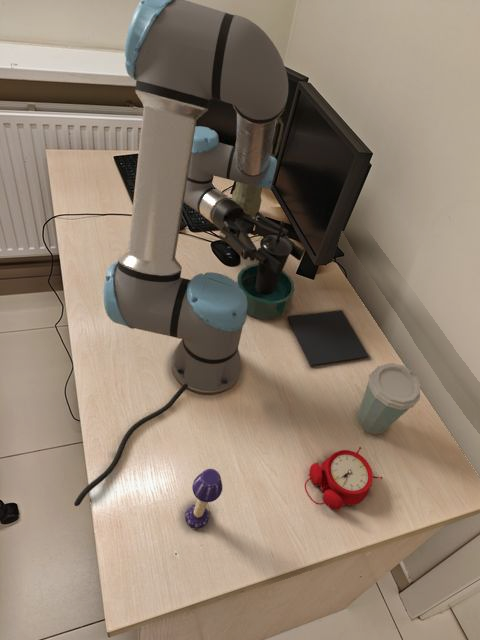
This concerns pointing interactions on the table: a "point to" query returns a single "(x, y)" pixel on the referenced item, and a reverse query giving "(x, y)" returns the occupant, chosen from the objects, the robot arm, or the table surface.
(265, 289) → the drinking cup
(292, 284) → the green bowl
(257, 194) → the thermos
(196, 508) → the toy lamp
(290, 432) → the table surface
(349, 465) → the alarm clock
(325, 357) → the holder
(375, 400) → the disposable coffee cup
